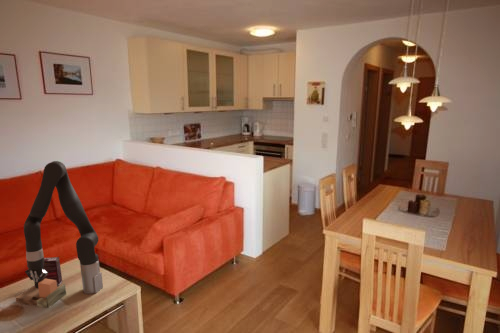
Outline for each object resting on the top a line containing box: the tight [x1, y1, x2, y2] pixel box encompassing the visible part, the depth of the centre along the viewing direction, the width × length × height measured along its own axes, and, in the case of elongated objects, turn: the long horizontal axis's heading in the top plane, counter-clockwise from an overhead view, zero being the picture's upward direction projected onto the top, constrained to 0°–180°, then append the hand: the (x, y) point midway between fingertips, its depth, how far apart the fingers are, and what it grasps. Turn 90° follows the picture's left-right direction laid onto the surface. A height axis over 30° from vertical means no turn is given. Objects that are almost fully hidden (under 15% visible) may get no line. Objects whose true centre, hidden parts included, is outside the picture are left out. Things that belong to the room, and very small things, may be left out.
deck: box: [15, 283, 67, 308], centre depth 173 cm, size 20×12×6 cm, turn 78°
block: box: [38, 278, 58, 298], centre depth 170 cm, size 7×4×8 cm, turn 78°
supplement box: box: [43, 256, 63, 287], centre depth 185 cm, size 9×5×16 cm, turn 99°
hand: (38, 287), depth 172 cm, fingers closed
